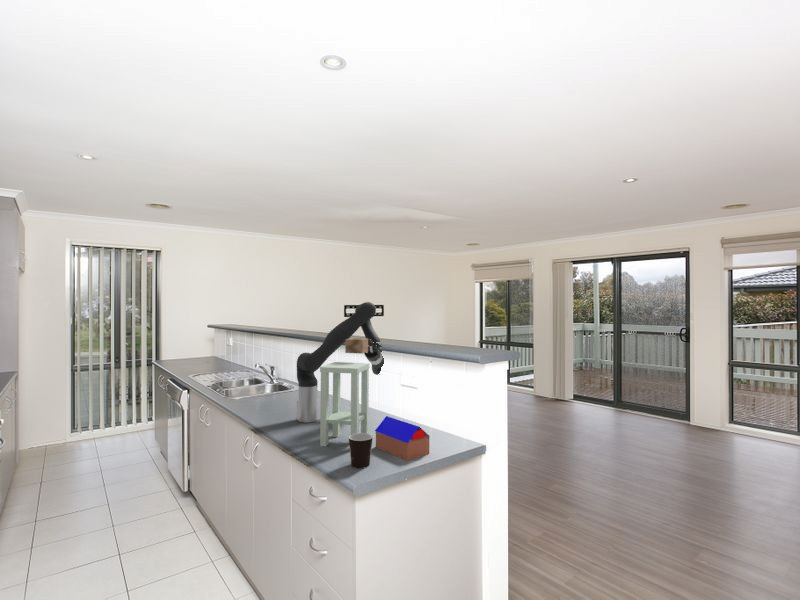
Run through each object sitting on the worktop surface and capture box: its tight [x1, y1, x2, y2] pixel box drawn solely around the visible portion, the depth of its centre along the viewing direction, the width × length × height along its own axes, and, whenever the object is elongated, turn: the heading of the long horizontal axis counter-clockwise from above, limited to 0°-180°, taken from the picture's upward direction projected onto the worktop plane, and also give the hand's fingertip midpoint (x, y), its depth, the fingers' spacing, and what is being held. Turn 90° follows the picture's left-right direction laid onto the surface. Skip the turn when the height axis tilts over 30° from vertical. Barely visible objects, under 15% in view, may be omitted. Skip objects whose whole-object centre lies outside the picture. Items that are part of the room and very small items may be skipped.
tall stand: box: [319, 361, 371, 448], centre depth 178 cm, size 16×16×32 cm
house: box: [374, 416, 431, 461], centre depth 169 cm, size 12×20×12 cm, turn 40°
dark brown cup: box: [348, 432, 374, 469], centre depth 154 cm, size 12×9×10 cm
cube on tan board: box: [344, 337, 371, 354], centre depth 199 cm, size 8×20×6 cm, turn 166°
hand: (364, 340), depth 203 cm, fingers closed on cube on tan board, 3 cm apart
